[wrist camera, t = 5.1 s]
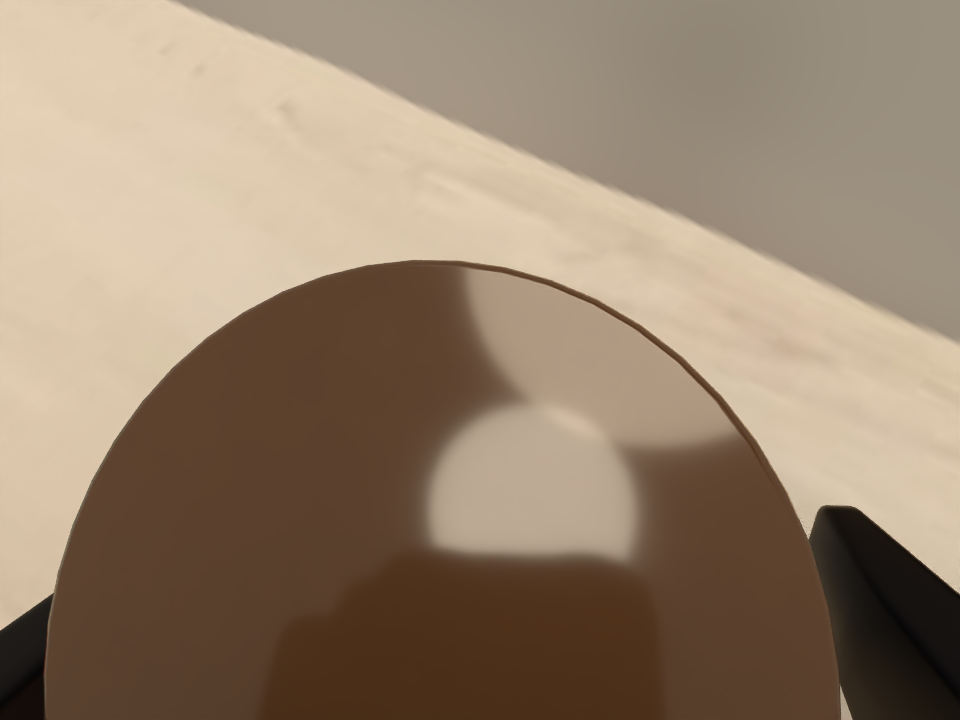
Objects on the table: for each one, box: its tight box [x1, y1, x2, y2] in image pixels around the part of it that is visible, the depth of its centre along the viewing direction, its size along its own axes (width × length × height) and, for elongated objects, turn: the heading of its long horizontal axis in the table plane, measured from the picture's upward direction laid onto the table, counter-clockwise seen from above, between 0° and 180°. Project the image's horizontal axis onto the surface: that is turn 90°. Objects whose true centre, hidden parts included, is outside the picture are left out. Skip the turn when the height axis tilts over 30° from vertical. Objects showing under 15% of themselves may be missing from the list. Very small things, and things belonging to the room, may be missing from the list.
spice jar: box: [43, 260, 841, 720], centre depth 10 cm, size 6×6×12 cm
